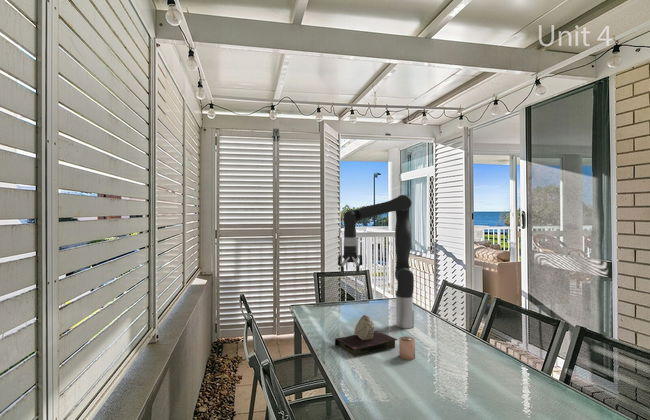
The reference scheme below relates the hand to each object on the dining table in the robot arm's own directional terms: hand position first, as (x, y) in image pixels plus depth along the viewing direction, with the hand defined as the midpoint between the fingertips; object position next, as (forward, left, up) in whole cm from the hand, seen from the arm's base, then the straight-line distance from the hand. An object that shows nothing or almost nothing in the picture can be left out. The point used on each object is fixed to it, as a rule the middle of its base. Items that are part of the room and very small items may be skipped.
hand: (350, 272), depth 218 cm
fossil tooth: (+1, +35, -26) cm, 44 cm away
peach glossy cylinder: (-15, +52, -30) cm, 62 cm away
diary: (0, +37, -31) cm, 48 cm away
